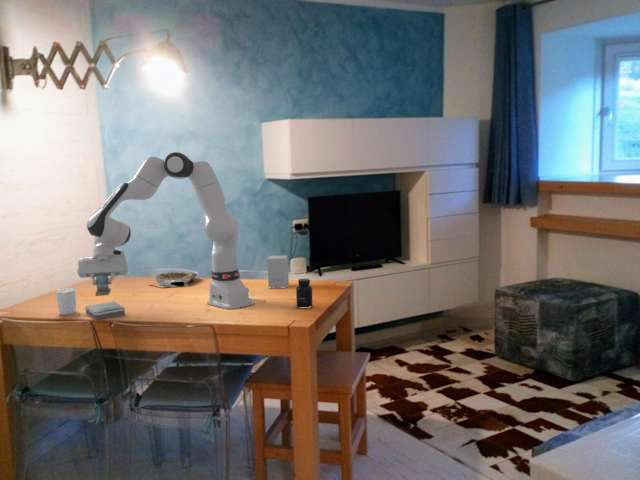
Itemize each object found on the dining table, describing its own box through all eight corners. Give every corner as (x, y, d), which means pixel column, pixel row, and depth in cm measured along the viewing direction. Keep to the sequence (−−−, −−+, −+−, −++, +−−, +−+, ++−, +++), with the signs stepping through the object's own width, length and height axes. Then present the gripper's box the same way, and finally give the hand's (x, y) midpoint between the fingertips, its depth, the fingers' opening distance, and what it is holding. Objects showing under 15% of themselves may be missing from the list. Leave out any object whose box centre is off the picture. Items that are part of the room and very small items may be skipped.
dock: (125, 314, 249) (124, 307, 249) (95, 320, 242) (94, 312, 242) (114, 308, 261) (113, 301, 260) (85, 313, 254) (85, 306, 253)
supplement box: (289, 284, 297) (288, 255, 295) (286, 288, 288) (285, 258, 286) (271, 284, 298) (270, 255, 296) (268, 288, 289) (266, 258, 287)
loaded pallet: (98, 292, 253) (97, 274, 252) (110, 291, 254) (109, 273, 253) (95, 295, 246) (94, 277, 245) (108, 295, 247) (106, 276, 246)
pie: (140, 283, 311) (139, 274, 311) (186, 275, 330) (186, 267, 329) (166, 291, 291) (165, 281, 290) (213, 283, 309) (213, 273, 308)
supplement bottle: (298, 309, 248) (297, 281, 247) (295, 305, 255) (294, 278, 253) (314, 308, 250) (313, 280, 248) (310, 304, 257) (309, 277, 255)
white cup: (71, 309, 260) (69, 287, 259) (81, 312, 255) (79, 289, 254) (54, 313, 254) (52, 290, 253) (63, 316, 249) (61, 293, 248)
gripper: (77, 254, 252) (74, 281, 244) (127, 251, 256) (126, 278, 248) (80, 262, 257) (77, 289, 249) (129, 259, 261) (128, 286, 253)
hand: (102, 283), depth 249 cm, fingers closed on loaded pallet, 5 cm apart
